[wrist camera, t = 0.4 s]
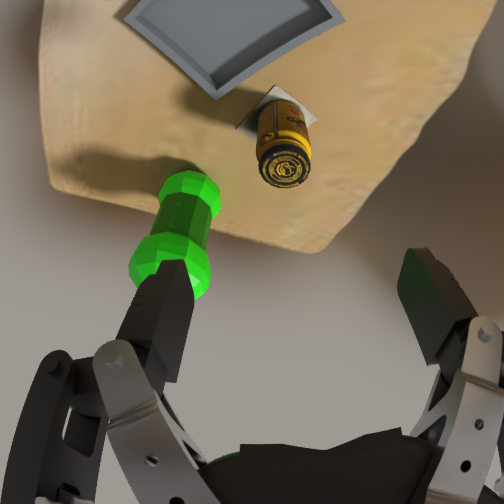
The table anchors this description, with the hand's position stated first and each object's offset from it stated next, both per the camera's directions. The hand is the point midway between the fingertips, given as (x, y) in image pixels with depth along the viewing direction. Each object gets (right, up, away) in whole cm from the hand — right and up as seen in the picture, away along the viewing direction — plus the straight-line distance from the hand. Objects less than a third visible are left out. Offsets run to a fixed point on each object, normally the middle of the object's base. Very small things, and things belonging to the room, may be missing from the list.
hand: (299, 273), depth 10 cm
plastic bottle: (-11, +12, +35) cm, 38 cm away
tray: (-4, +28, +12) cm, 31 cm away
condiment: (+2, +18, +25) cm, 31 cm away
